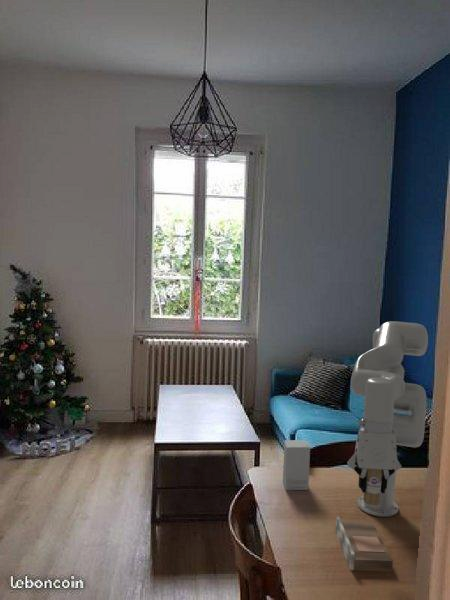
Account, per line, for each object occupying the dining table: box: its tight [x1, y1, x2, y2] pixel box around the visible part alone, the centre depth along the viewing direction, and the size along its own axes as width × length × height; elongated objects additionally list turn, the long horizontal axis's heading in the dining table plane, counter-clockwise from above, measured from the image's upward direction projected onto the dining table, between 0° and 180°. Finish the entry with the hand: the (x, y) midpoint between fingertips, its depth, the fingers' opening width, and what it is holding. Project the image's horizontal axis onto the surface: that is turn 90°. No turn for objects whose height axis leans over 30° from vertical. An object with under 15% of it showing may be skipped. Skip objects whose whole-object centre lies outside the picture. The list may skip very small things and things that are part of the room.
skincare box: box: [282, 439, 311, 491], centre depth 177 cm, size 8×7×16 cm
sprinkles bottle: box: [363, 469, 382, 506], centre depth 138 cm, size 5×5×14 cm
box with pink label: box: [334, 516, 394, 573], centre depth 142 cm, size 18×11×4 cm, turn 0°
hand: (372, 489), depth 138 cm, fingers closed on sprinkles bottle, 4 cm apart
